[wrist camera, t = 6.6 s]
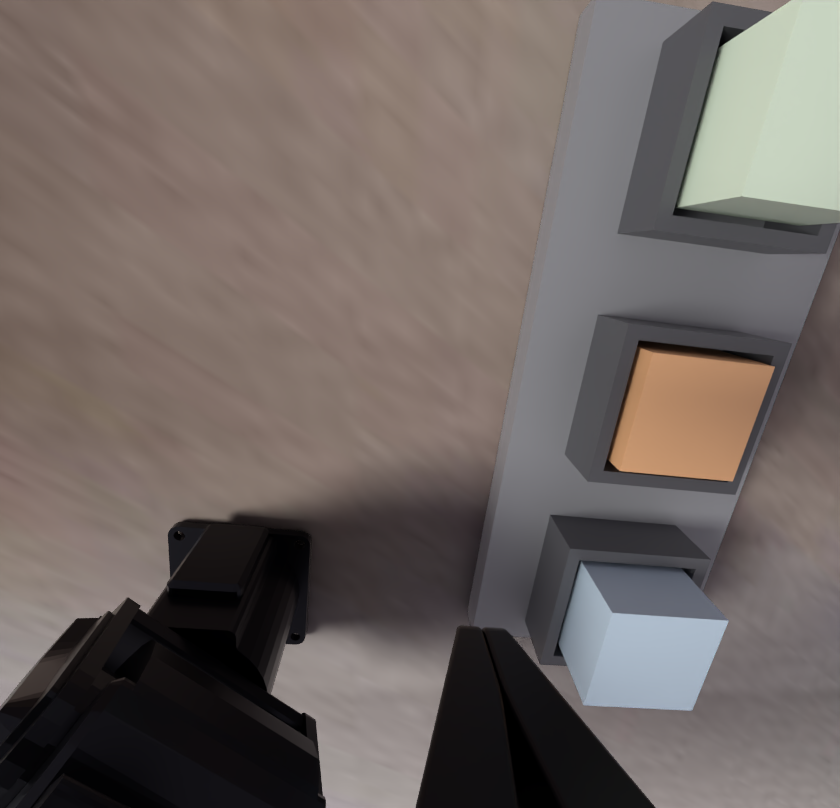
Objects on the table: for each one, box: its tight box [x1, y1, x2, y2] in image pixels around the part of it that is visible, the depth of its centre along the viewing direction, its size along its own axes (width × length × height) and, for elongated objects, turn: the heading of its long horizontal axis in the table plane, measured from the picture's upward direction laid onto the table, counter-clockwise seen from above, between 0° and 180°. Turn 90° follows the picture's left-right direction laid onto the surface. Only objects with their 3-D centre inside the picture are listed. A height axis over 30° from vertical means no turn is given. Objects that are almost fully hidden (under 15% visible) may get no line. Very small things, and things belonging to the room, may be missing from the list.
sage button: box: [675, 0, 840, 226], centre depth 13 cm, size 4×4×3 cm
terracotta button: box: [607, 341, 775, 481], centre depth 17 cm, size 4×4×3 cm
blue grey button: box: [558, 560, 729, 711], centre depth 18 cm, size 4×4×3 cm
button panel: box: [467, 0, 840, 666], centre depth 18 cm, size 26×11×4 cm, turn 173°
